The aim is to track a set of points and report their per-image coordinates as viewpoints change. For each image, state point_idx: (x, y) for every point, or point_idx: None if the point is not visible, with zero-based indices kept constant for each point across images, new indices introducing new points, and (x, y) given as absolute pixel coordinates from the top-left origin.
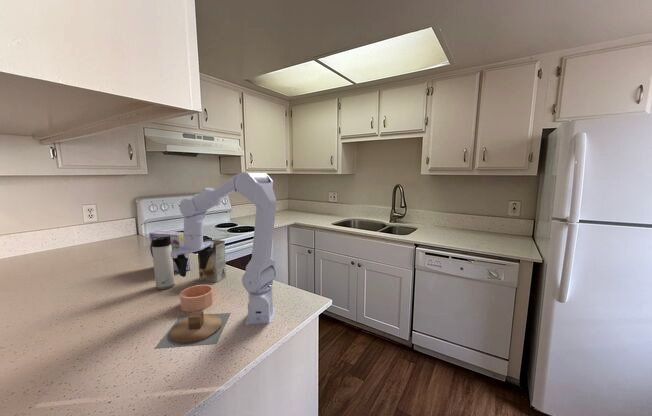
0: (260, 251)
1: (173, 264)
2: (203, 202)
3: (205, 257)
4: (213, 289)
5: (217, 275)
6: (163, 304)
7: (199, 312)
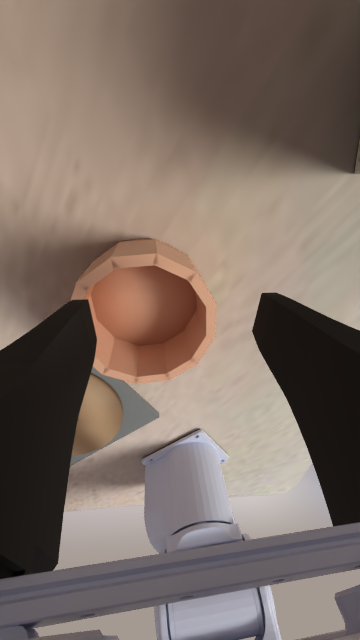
0: None
1: None
2: None
3: (306, 426)
4: (193, 364)
5: None
6: (57, 139)
7: None
